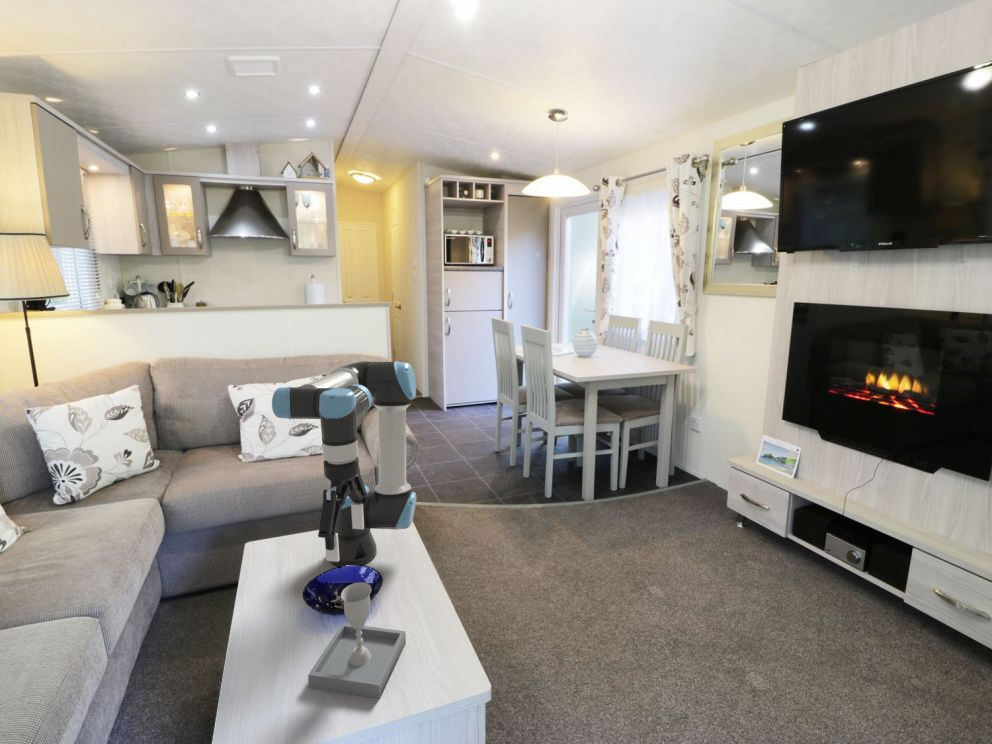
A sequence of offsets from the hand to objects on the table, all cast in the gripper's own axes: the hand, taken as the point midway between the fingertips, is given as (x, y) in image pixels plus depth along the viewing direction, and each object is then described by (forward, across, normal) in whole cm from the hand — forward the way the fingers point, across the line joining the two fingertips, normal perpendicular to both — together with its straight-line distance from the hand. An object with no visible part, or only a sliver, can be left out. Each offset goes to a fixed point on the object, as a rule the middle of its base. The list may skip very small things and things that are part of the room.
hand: (346, 543), depth 117 cm
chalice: (+29, +2, +3) cm, 30 cm away
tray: (+31, +2, +3) cm, 31 cm away
